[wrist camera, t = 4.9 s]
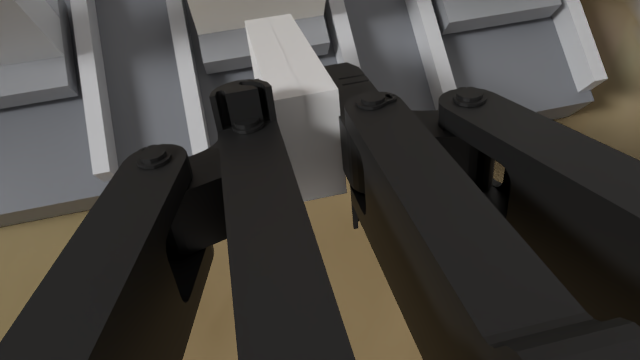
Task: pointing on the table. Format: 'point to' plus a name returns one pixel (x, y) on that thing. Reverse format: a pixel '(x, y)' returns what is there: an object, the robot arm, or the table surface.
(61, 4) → the grey slider
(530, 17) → the sage knob slider
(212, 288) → the table surface
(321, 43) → the white tall block
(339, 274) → the table surface
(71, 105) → the grey slotted tray
